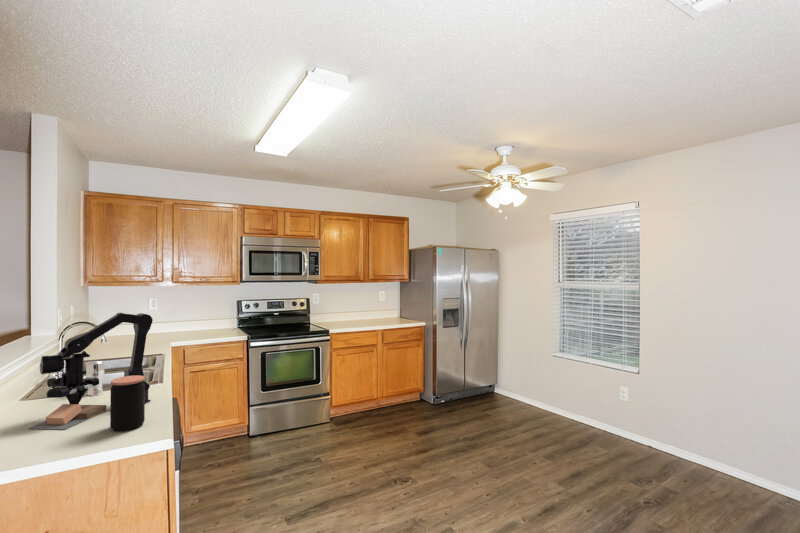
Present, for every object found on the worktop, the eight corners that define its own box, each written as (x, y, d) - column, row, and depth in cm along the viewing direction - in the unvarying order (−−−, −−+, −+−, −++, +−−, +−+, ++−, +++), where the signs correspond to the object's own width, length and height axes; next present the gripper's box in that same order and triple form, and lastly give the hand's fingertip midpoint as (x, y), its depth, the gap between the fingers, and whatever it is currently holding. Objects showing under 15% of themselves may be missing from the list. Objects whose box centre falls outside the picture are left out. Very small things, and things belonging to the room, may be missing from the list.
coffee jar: (151, 423, 155) (151, 376, 155) (124, 434, 145) (124, 384, 145) (131, 420, 159) (131, 374, 159) (103, 430, 149) (103, 381, 149)
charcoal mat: (86, 419, 159) (86, 418, 159) (64, 429, 149) (64, 428, 149) (52, 419, 159) (52, 418, 159) (28, 429, 149) (28, 428, 149)
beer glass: (94, 396, 188) (94, 364, 188) (82, 395, 189) (82, 363, 189) (108, 392, 194) (108, 361, 195) (96, 391, 196) (96, 360, 196)
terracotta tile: (82, 410, 160) (80, 404, 159) (65, 424, 153) (63, 418, 152) (65, 410, 161) (63, 404, 160) (47, 424, 153) (45, 417, 152)
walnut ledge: (106, 411, 169) (106, 405, 169) (86, 419, 159) (86, 413, 159) (74, 410, 169) (74, 404, 169) (52, 419, 159) (52, 413, 159)
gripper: (75, 363, 171) (74, 400, 171) (33, 375, 152) (32, 416, 152) (100, 364, 170) (100, 401, 170) (61, 375, 152) (60, 417, 152)
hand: (74, 408), depth 161 cm, fingers closed
